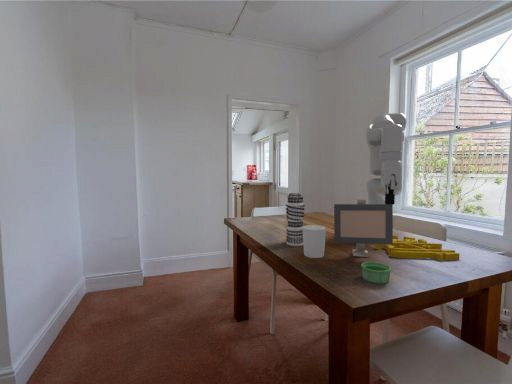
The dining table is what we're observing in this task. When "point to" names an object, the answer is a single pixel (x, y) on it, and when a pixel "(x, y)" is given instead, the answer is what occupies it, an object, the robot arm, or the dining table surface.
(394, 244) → the decorative art
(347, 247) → the dining table surface
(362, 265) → the ramekin
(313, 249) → the candle holder
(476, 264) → the dining table surface
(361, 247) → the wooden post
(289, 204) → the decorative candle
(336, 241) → the picture frame
